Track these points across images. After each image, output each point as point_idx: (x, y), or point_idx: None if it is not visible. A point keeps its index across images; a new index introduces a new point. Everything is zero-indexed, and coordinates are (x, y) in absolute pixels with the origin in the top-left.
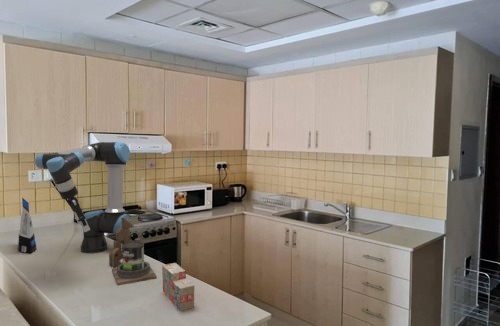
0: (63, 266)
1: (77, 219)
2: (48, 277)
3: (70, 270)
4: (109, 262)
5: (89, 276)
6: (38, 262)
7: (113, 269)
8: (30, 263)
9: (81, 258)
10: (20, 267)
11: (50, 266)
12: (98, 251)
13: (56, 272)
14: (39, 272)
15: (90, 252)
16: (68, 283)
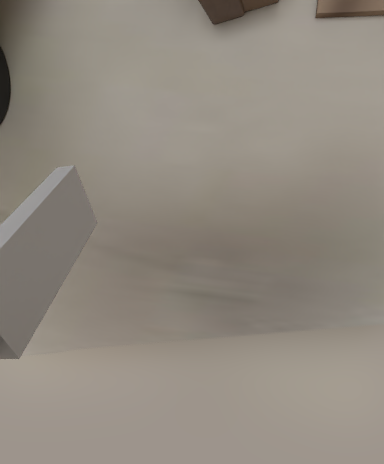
0: (136, 225)
1: (73, 252)
2: (239, 288)
3: (199, 206)
4: (216, 18)
5: (328, 139)
6: (56, 294)
7: (338, 4)
8: (57, 317)
9: (64, 147)
10: (86, 346)
11: (116, 266)
12: (3, 62)
13: (196, 256)
14: (165, 306)
15: (6, 101)
16: (363, 233)
